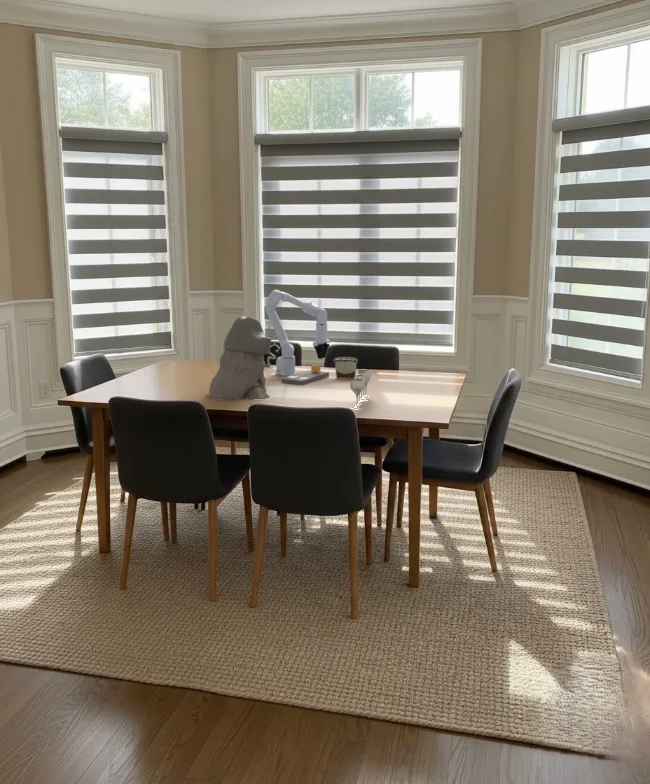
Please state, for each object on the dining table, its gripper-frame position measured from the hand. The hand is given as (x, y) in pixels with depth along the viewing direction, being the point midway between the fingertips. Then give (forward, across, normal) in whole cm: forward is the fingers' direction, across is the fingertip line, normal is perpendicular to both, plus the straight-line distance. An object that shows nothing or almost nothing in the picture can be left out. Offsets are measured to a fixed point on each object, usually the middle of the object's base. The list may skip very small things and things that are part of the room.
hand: (321, 358), depth 381 cm
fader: (+6, -6, 0) cm, 8 cm away
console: (+8, -16, 0) cm, 18 cm away
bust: (+9, -59, +8) cm, 60 cm away
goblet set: (+9, -48, -48) cm, 68 cm away
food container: (+9, -1, -15) cm, 17 cm away
